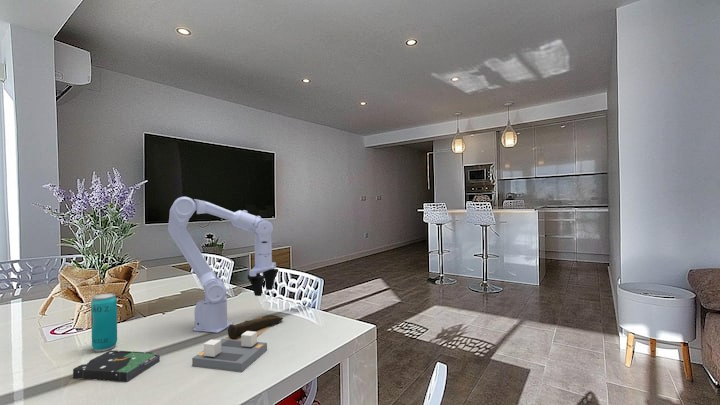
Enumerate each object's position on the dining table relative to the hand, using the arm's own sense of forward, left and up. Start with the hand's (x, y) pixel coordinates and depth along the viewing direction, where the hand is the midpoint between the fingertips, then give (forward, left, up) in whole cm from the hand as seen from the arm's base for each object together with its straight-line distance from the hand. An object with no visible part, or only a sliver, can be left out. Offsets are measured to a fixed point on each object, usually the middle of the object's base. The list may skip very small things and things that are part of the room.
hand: (263, 292), depth 116 cm
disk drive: (-18, -39, -10) cm, 44 cm away
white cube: (+3, -31, -7) cm, 32 cm away
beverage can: (-33, -30, -10) cm, 46 cm away
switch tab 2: (+9, -24, -7) cm, 27 cm away
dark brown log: (+4, -10, -8) cm, 13 cm away
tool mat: (+1, -9, -9) cm, 13 cm away
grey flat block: (+6, -28, -9) cm, 30 cm away
